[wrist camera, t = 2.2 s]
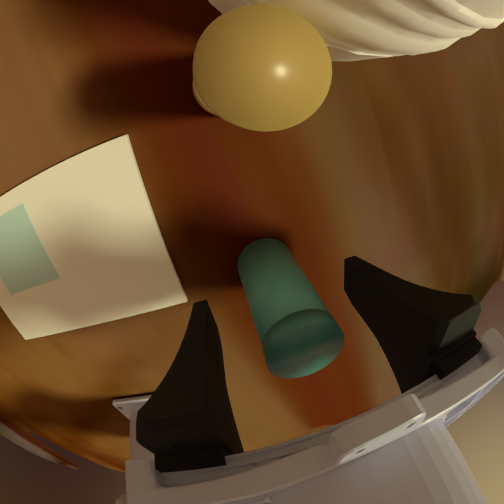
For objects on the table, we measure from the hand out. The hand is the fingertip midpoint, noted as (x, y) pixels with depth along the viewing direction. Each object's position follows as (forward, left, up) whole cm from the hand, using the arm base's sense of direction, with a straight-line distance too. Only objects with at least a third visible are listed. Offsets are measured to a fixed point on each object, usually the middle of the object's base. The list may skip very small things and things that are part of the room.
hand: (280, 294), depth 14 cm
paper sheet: (+4, +12, -3) cm, 13 cm away
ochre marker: (+10, 0, -3) cm, 10 cm away
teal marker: (0, 0, -3) cm, 3 cm away
